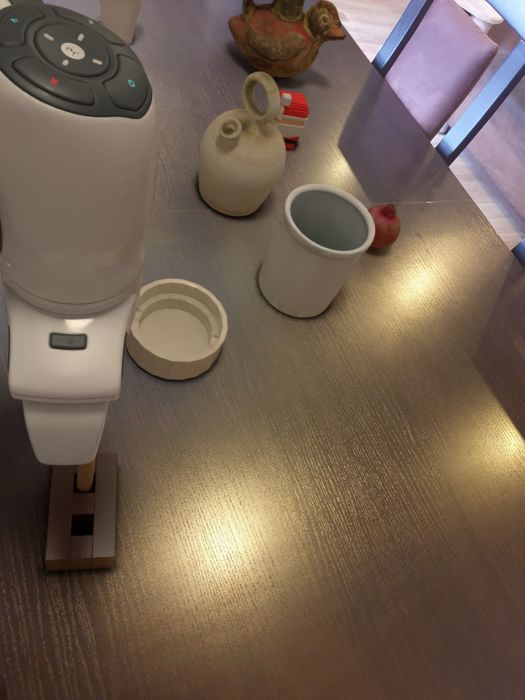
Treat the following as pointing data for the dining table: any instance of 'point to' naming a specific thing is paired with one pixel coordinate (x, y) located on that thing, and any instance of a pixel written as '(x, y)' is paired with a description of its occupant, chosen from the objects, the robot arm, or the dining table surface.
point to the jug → (243, 152)
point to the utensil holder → (314, 249)
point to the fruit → (385, 225)
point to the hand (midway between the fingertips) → (74, 375)
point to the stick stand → (82, 517)
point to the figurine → (292, 117)
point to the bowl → (176, 329)
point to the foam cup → (120, 17)
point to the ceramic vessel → (284, 34)
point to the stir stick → (85, 477)
